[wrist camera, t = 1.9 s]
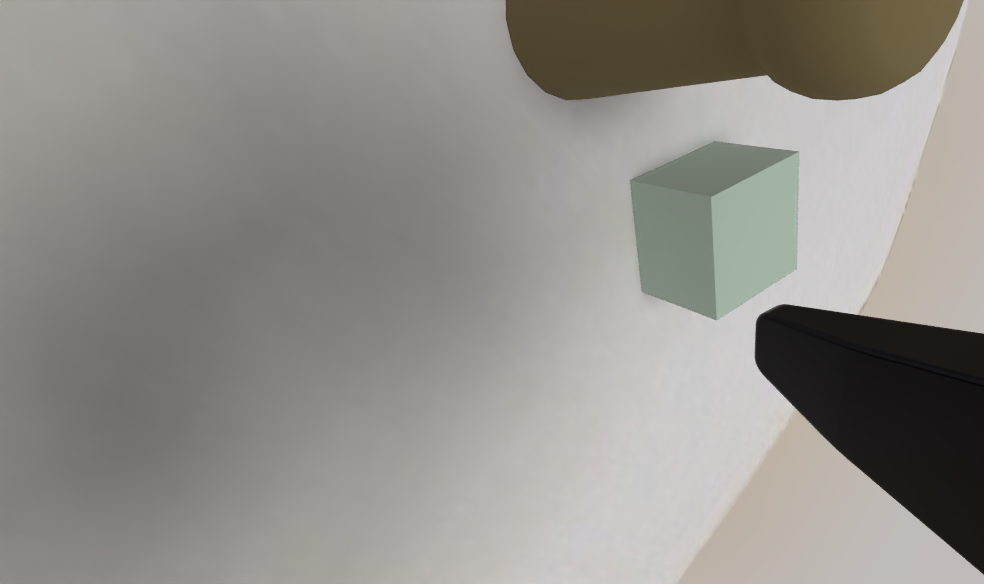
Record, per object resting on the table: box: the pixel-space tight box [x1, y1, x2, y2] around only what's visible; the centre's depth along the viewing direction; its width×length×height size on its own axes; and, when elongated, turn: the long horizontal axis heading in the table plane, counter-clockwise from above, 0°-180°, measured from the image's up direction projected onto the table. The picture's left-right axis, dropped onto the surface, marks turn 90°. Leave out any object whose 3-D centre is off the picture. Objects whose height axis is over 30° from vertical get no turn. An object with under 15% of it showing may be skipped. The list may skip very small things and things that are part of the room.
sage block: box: [630, 142, 799, 320], centre depth 26 cm, size 5×5×4 cm
